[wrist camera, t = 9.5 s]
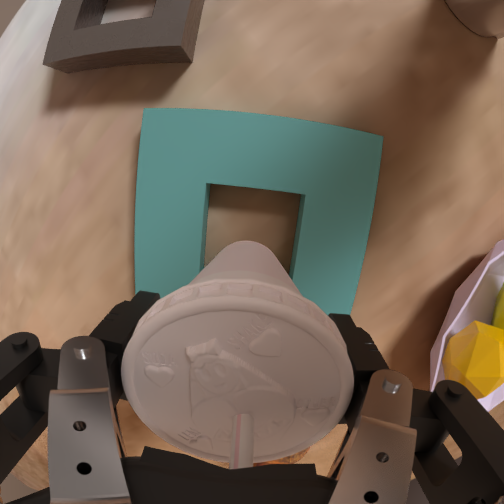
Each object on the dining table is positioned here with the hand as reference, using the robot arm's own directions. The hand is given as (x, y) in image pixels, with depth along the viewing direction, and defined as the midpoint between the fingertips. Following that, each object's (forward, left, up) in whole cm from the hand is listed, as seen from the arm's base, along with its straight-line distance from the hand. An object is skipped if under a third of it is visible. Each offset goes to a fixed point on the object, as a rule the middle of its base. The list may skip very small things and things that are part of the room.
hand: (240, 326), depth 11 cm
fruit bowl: (-33, +6, -17) cm, 38 cm away
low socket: (0, 0, -17) cm, 17 cm away
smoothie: (0, 0, -6) cm, 6 cm away
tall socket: (+14, -22, -17) cm, 31 cm away
